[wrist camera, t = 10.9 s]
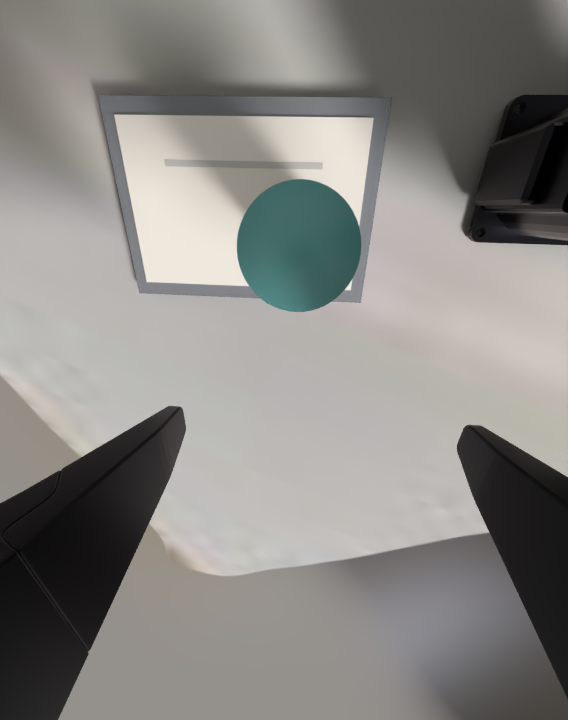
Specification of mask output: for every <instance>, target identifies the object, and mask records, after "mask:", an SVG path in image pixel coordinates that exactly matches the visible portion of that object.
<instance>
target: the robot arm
mask: <svg viewBox="0 0 568 720" xmlns="http://www.w3.org/2000/svg"><path fill="white" fill-rule="evenodd" d="M517 104H518V105H520V107H521V108H520V112H519V114H518V115H516V114H515V113H514V108H515V106H516V105H517ZM475 202H476V204H477V205H476V208H475V212H474V215H473V219H472V222H471V225H470V229H469V232H468V237H469V239H470V240H471V241H475V242H489V243H520V244H550V245H568V95H521V96H519V97H517V98H515V99H513V100H512V101H510V102H509V104H508V105H507V106H506V108H505V110H504V114H503V117H502V120H501V124H500V127H499V131H498V134H497V137H496V141H495V143H494V144H493V145H492V146H491V147H490V149H489V152H488V156H487V159H486V163H485V166H484V170H483V173H482V177H481V180H480V183H479V187H478V190H477V194H476V197H475ZM480 228H481V229H482V233H481V235H480V236H478V237H477V236H476V232H477V231H478V230H479V229H480ZM185 431H186V425H185V419H184V413H183V409H182V408H181V407H178V406H168V407H166V408H165V409H163V410H161V411H159V412H158V413H156V414H154V415H153V416H151V417H149V418H148V419H146V420H144V421H142V422H141V423H139V424H137V425H136V426H134V427H132V428H131V429H129V430H127V431H125V432H124V433H122V434H120V435H119V436H117V437H115V438H114V439H112V440H110V441H108V442H107V443H105V444H103V445H102V446H100V447H98V448H96V449H95V450H93V451H91V452H90V453H88V454H86V455H85V456H83V457H81V458H79V459H78V460H76V461H74V462H73V463H71V464H69V465H68V466H66V467H64V468H63V469H62V470H61V471H57V472H56V473H54V474H52V475H50V476H49V477H48V478H46V479H44V480H42V481H40V482H38V483H37V484H35V485H33V486H31V487H30V488H28V489H26V490H24V491H23V492H21V493H19V494H17V495H15V496H13V497H11V498H10V499H8V500H6V501H4V502H2V503H0V720H58V718H59V716H60V714H61V712H62V710H63V707H64V706H65V704H66V701H67V699H68V697H69V695H70V693H71V691H72V688H73V686H74V684H75V682H76V680H77V678H78V675H79V673H80V671H81V669H82V667H83V665H84V663H85V660H86V658H87V656H88V651H89V650H90V649H91V647H92V644H93V643H94V640H95V638H96V636H97V634H98V632H99V630H100V628H101V625H102V623H103V621H104V619H105V617H106V615H107V612H108V610H109V608H110V606H111V604H112V602H113V600H114V597H115V595H116V593H117V591H118V589H119V587H120V584H121V582H122V580H123V577H124V576H125V573H126V571H127V569H128V567H129V565H130V563H131V560H132V558H133V556H134V554H135V552H136V550H137V548H138V546H139V543H140V541H141V539H142V537H143V535H144V533H145V531H146V528H147V526H148V524H149V522H150V520H151V518H152V515H153V513H154V511H155V509H156V507H157V505H158V502H159V500H160V498H161V496H162V494H163V492H164V490H165V487H166V485H167V483H168V481H169V478H170V476H171V474H172V471H173V468H174V465H175V462H176V459H177V456H178V453H179V450H180V447H181V444H182V441H183V438H184V435H185ZM457 452H458V455H459V458H460V461H461V464H462V467H463V469H464V472H465V475H466V478H467V481H468V484H469V487H470V490H471V492H472V495H473V497H474V500H475V502H476V504H477V507H478V509H479V511H480V513H481V515H482V517H483V520H484V522H485V524H486V526H487V528H488V530H489V532H490V534H491V537H492V539H493V540H494V543H495V545H496V547H497V549H498V552H499V554H500V555H501V558H502V560H503V562H504V564H505V566H506V568H507V571H508V573H509V575H510V577H511V579H512V581H513V583H514V586H515V588H516V589H517V592H518V594H519V596H520V598H521V601H522V603H523V605H524V607H525V609H526V611H527V613H528V616H529V618H530V620H531V622H532V624H533V626H534V628H535V630H536V633H537V635H538V637H539V639H540V641H541V643H542V645H543V648H544V650H545V652H546V654H547V656H548V658H549V660H550V663H551V665H552V667H553V669H554V671H555V673H556V675H557V677H558V680H559V682H560V684H561V686H562V688H563V690H564V692H565V695H566V697H567V699H568V477H566V476H565V475H563V474H561V473H560V472H558V471H556V470H555V469H553V468H551V467H550V466H548V465H546V464H545V463H543V462H541V461H540V460H538V459H536V458H535V457H533V456H531V455H530V454H528V453H526V452H525V451H523V450H521V449H519V448H518V447H516V446H514V445H513V444H511V443H509V442H508V441H506V440H504V439H503V438H501V437H499V436H498V435H496V434H494V433H493V432H491V431H489V430H488V429H486V428H484V427H482V426H479V425H466V426H465V427H464V429H463V431H462V434H461V436H460V439H459V441H458V444H457Z"/></svg>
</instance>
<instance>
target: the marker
mask: <svg viewBox="0 0 568 720" xmlns="http://www.w3.org/2000/svg"><path fill="white" fill-rule="evenodd" d="M360 255H361V234H360V228H359V225H358V221H357V219H356V216H355V214H354V212H353V210H352V209H351V207H350V206H349V204H348V203H347V202H346V200H345V199H344V198H343V197H342V196H341V195H340V194H339V193H337V192H336V191H335V190H333V189H332V188H330V187H329V186H327V185H325V184H322V183H320V182H317V181H313V180H307V179H292V180H288V181H283V182H280V183H278V184H275V185H273V186H271V187H270V188H268V189H266V190H265V191H264V192H262V193H261V194H260V195H259V196H258V197H257V198H256V199H255V200H254V201H253V202H252V203H251V205H250V206H249V207H248V209H247V211H246V213H245V214H244V216H243V219H242V221H241V224H240V227H239V231H238V237H237V257H238V262H239V266H240V269H241V272H242V274H243V276H244V278H245V280H246V282H247V284H248V285H249V286H250V288H251V289H252V290H253V291H254V293H255V294H256V295H257V296H259V297H260V298H261V299H262V300H264V301H265V302H266V303H268V304H270V305H272V306H274V307H276V308H279V309H282V310H286V311H293V312H304V311H310V310H314V309H318V308H320V307H322V306H325V305H326V304H328V303H330V302H332V301H333V300H334V299H336V298H337V297H338V296H339V295H340V294H341V293H342V292H343V291H344V290H345V289H346V288H347V286H348V285H349V283H350V282H351V280H352V279H353V277H354V275H355V273H356V270H357V267H358V264H359V260H360Z"/></svg>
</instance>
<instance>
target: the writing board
mask: <svg viewBox="0 0 568 720" xmlns="http://www.w3.org/2000/svg"><path fill="white" fill-rule="evenodd" d="M98 98H99V102H100V107H101V112H102V117H103V121H104V126H105V131H106V136H107V141H108V145H109V150H110V155H111V160H112V164H113V169H114V174H115V179H116V183H117V188H118V193H119V198H120V203H121V207H122V212H123V217H124V222H125V226H126V231H127V236H128V241H129V245H130V250H131V255H132V260H133V265H134V269H135V274H136V279H137V284H138V288H139V293H149V294H172V295H195V296H218V297H241V298H260V297H259V296H257V295H256V294H255V293H254V291H253V290H252V289H251V288H250V286H249V285H248V284H247V282H246V280H245V278H244V276H243V274H242V272H241V269H240V266H239V262H238V257H237V237H238V231H239V227H240V224H241V221H242V219H243V216H244V214H245V213H246V211H247V209H248V207H249V206H250V205H251V203H252V202H253V201H254V200H255V199H256V198H257V197H258V196H259V195H260V194H261V193H262V192H264V191H265V190H266V189H268V188H270V187H271V186H273V185H275V184H278V183H280V182H283V181H288V180H292V179H307V180H313V181H317V182H320V183H322V184H325V185H327V186H329V187H330V188H332V189H333V190H335V191H336V192H337V193H339V194H340V195H341V196H342V197H343V198H344V199H345V200H346V202H347V203H348V204H349V206H350V207H351V209H352V210H353V212H354V214H355V216H356V219H357V221H358V225H359V228H360V234H361V255H360V260H359V264H358V267H357V270H356V273H355V275H354V277H353V279H352V280H351V282H350V283H349V285H348V286H347V288H346V289H345V290H344V291H343V292H342V293H341V294H340V295H339V296H338V297H337V298H336V299H334V300H333V302H356V303H361V297H362V290H363V284H364V277H365V270H366V264H367V257H368V251H369V244H370V237H371V231H372V224H373V218H374V211H375V204H376V198H377V191H378V185H379V178H380V171H381V165H382V158H383V152H384V145H385V138H386V132H387V125H388V119H389V112H390V105H391V99H392V98H372V97H259V96H145V95H98Z"/></svg>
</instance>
